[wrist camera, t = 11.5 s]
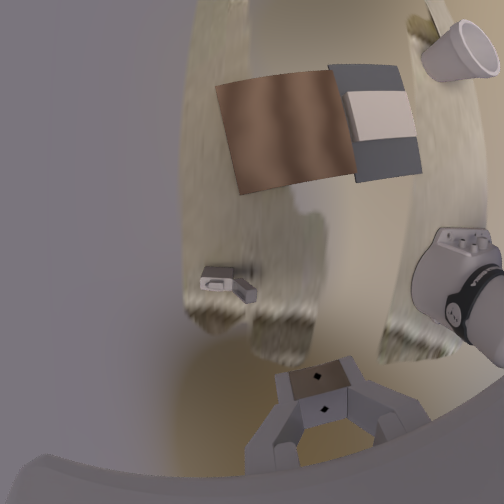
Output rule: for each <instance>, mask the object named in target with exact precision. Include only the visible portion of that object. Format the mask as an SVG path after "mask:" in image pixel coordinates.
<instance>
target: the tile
mask: <svg viewBox="0 0 504 504" xmlns="http://www.w3.org/2000/svg"><path fill="white" fill-rule="evenodd" d="M341 98H342V101H343V105H344V109H345V113H346V117H347V121H348V125H349V129H350V133H351V138H352V142H353V143H355V142H364V141H374V140H385V139H397V138H410V137H416V136H417V133H416V128H415V124H414V119H413V115H412V111H411V108H410V103H409V100H408V96H407V93H406V91H353V92H346V93H345V94H344V95H342V96H341Z"/></svg>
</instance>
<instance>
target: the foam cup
mask: <svg viewBox="0 0 504 504" xmlns="http://www.w3.org/2000/svg"><path fill="white" fill-rule="evenodd" d="M421 61H422V64H423V67H424V69H425V70H426V72H427V74H428V75H429V76H430V77H431V78H432V79H434V80H436V81H438V82H447V81H454V80H462V79H471V78H490V77H494V76H497V75H498V73H499V72H500V61H499V58H498V56H497V53H496V50H495V48H494V46H493V45H492V43H491V41H490V40H489V38H488V37H487V36H486V34H485V33H484V32H483V31H482V30H481V29H480V28H479V27H478V26H477V25H475V24H474V23H473V22H471V21H469V20H465V19H463V20H461V21H459V22H457V23H455V24H454V25H452V26H451V27H450V30H449V31H447V32H446V33H445V34H444V35H443V36H442V37H441V38H439V39H438V40H437V41H436V42H435V43H434V44H433V45H432V46H430V47H429V48H428V49H427V50H426V51H425V52H424V53H423V54H422V57H421Z"/></svg>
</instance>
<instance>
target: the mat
mask: <svg viewBox="0 0 504 504" xmlns="http://www.w3.org/2000/svg"><path fill="white" fill-rule="evenodd" d="M328 68H329V70H333V73H334V77H335V80H336V83H337V87H338V90H339V94H340V97H341V96H342V95H344V94H345V93H346V92H353V91H405V89H404V86H403V83H402V80H401V76H400V73H399V70H398V68H397V66H392V65H372V64H336V65H335V64H333V65H328ZM341 101H342V98H341ZM342 105H343V101H342ZM343 108H344V105H343ZM344 112H345V109H344ZM345 116H346V113H345ZM346 120H347V117H346ZM347 125H348V121H347ZM348 129H349V125H348ZM349 133H350V129H349ZM350 138H351V133H350ZM351 142H352V138H351ZM352 147H353V152H354V157H355V162H356V167H357V173H354V176H355V182H356V183H360V182H366V181H372V180H379V179H386V178H392V177H399V176H406V175H414V174H421V173H422V167H421V160H420V154H419V149H418V143H417V138H416V137H410V138H397V139H385V140H374V141H364V142H355V143H353V142H352Z"/></svg>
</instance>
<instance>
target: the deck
mask: <svg viewBox="0 0 504 504" xmlns="http://www.w3.org/2000/svg"><path fill="white" fill-rule="evenodd" d="M215 88H216V92H217V97H218V101H219V105H220V110H221V114H222V119H223V123H224V127H225V132H226V136H227V140H228V145H229V149H230V153H231V158H232V162H233V167H234V171H235V175H236V180H237V184H238V189H239V193H240V195H244V194H248V193H253V192H257V191H262V190H267V189H271V188H276V187H281V186H286V185H291V184H297V183H302V182H307V181H312V180H318V179H324V178H329V177H335V176H341V175H348V174H354V173H357V167H356V162H355V157H354V152H353V147H352V142H351V138H350V133H349V129H348V125H347V120H346V116H345V112H344V108H343V105H342V101H341V97H340V94H339V90H338V87H337V83H336V80H335V77H334V73H333V70H321V71H308V72H297V73H288V74H280V75H273V76H266V77H260V78H254V79H248V80H243V81H237V82H233V83H228V84H223V85H219V86H215Z"/></svg>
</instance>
